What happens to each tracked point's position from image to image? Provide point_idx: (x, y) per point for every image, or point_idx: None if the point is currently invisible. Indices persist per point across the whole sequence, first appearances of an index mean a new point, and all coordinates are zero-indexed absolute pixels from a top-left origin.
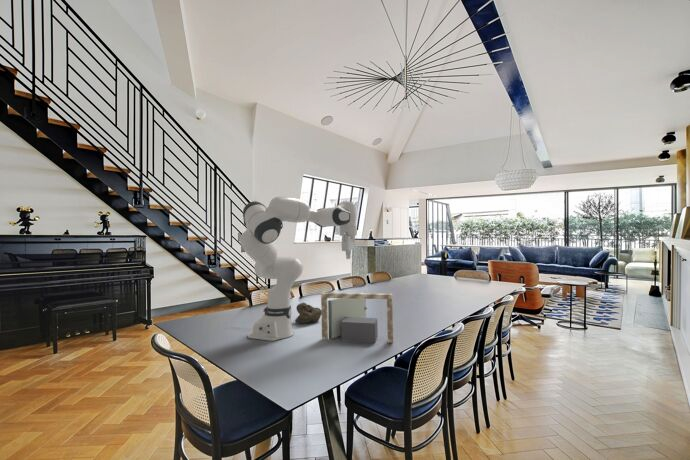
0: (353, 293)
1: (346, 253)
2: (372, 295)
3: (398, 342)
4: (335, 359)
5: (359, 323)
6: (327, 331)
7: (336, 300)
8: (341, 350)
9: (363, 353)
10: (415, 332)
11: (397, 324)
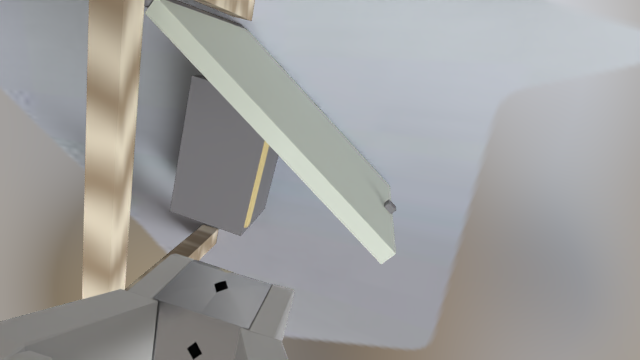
0: (106, 161)
1: (29, 333)
2: (87, 258)
3: (206, 254)
4: (75, 47)
5: (180, 153)
6: (233, 14)
7: (181, 48)
8: (140, 70)
9: None
10: (290, 330)
11: (387, 308)
